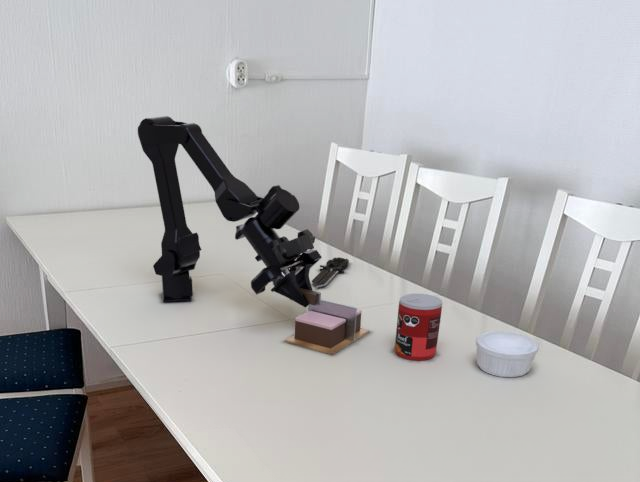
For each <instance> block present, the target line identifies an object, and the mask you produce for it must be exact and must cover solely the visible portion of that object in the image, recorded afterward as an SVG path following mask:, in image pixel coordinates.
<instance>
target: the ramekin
mask: <svg viewBox="0 0 640 482" xmlns="http://www.w3.org/2000/svg"><path fill="white" fill-rule="evenodd" d="M475 346H476V364H477V365H478V367H479V368H480V370H482V371H483V372H484V373H487V374H489V375H492V376H495V377H496V376H497V377H501V378H517V377H522V376H524V375H526V374H527V373H528V372H529V371H530V370H531V368H532V366H533V363H534V360H535V357H536V355H537V353H538V352H539V343H538V342H537V341H536V340H535V339H534V338H532V337H531V336H528V335H526V334H522V333H519V332H515V331H507V330H492V331H491V330H490V331H486V332H483V333H480V334H479V335H478V336H477V337H476V339H475Z"/></svg>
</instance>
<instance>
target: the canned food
mask: <svg viewBox="0 0 640 482" xmlns="http://www.w3.org/2000/svg"><path fill="white" fill-rule="evenodd" d="M442 311H443V300H442V299H441V298H440V297H438V296H435V295H433V294H429V293H407V294H404V295H401V296H400V297H399V302H398V309H397V320H396V328H395V329H396V331H395V338H394V339H395V341H394V351H395V354H396V355H397V356H399V358H402V359H405V360H408V361H427V360H430V359H433V358H434V357H435V355H436V353H437V348H438V342H439V341H438V339H439V332H440V326H441V319H442Z"/></svg>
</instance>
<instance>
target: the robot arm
mask: <svg viewBox="0 0 640 482" xmlns="http://www.w3.org/2000/svg"><path fill="white" fill-rule="evenodd" d="M137 136H138V139H139V144H140V146H141V149H142V152H143V153H144V154H145V156H146V157H147V158H148V160H149V161H150V162H151V164H152V169H153V174H154V180H155V184H156V188H157V189H156V190H157V195H158V200H159V205H160V211H161V215H162V216H161V217H162V221H163V226H164V232H163V235H162V240H161V243H160V245H161V246H160V247H161V255H160V257H159V258H158V260H156V261H155V263H154V264H153V266H152V267H153V270H154V273H155V275H156V276H161V287H162V291H161V296H162V302H163V303H177V302H191V301H192V297H193V295H194V294H193V293H194V291H193V277H192V276H191V275H190V271H193V270H195V269H196V265H197V262H198V261H199V259H200V258H201V252H200V251H202V247H201V245H200V237H199V233H198V232H192V231H191V229H190V228H189V227H188V224H187V220H186V214H185V213H186V212H185V209H184V202H183V196H182V192H181V187H180V179H179V175H178V170H177V169H178V168H177V163H176V156H177V153H178V149H179V145H181V146H182V148H183V149H184V151H185V152H186V154H187V155H188V157H190V159H191V160H192V162H193V163H194V165H195V166H196V167H197V169H198V170H199V172H200V173H201V174H202V176H203V178H204V179H205V180H206V181H207V183H208V184H209V185H210V187H211V188H212V190H213V192H214V200H215V203H216V206H217V208H218V209H219V211H220V213H221V215H222V217H223V218H224V219H225V220H226V221H228V222H232V223H235V222H238V221H242V220H245V219H247V220H245V222H244V223H241V224H239V225H236V226H235V235H234V239H235V240H241V239H244V238H245V239H246V241H247V242H248V244H249V245H250V246H251V247H252V249H253V250H254V251H255V253H256V254H257V255H256V256H255V257H254V259H255V260H256V262H260V261H261V262H262V263H263V264H264V265H265V267H263V268H262V269H261V270H260V271H259V273H258V274H256V275H255V277H253V278H252V279H251V280H250V288H251V289H252V291H253V292H254V294H255V295H256V296H257V295H260V294H261V293H263V292H265V291H266V287H267V286H268V284H269V283H271V282H272V285H273V287H272V288H271V289H270V292H271V293H273V292H274V293H276V294H279V295H281V296H283V297H285V298H287V299H289V300H290V299H291V300H290V301H293V302H294V303H297V305H300V306H302V307H304V308H307V307H309V303H308V301H307V299H306V297H305V295H304V294H303V292H302V291H301V289H300V288H303V289H307V290H312V291H314V289H313V287H312V284H311V283H312V282H311V280H310V279H311V278H310V271H311V269H312V268H313V267H314V266H315V265H316V264H317V263H318V262H319V261H320V260H321V259H322V258H323V257H322V255H321V253H319V251H318V249H315V246H314V244H315V242H316V236H315V235H314V234H313V233H312V232H311V231H310V230H309V229H308V228H307V229H304V230H301V231H299V232H297V237H296V238H292V239H291V240H289V238H288V237H287V236H284V235H283V236H281V237H280V235H279V234H278V233H277V230H281V229H282V228H284V226H285V225H286V224H287V223H288V222H289V221H290V220H291V219H292V218H293V217H294V216H295V215H296V214H297V213H298V212H299V210H300V202H299V200H298V199H297V197H296V196H295V195H294V194H292V193H291V192H289V191H288V190H287V189H284V188H282V187H281V185H280V184H276V185H273V186H271V188H270V189H269V190H268V191H267V193H266V194H265V196H264V197H262V196H260V195H257V194H256V192H254V191H253V190H252V189H251V188H250V186H248V185H247V183H246V182H244V181H242V180H240V179H238V178H237V177H235V176H234V174H232V172H231V171H230V170H229V168H228V167H227V165H226V164H225V163H224V161H223V160H222V158H221V157H220V155H219V154H218V153H217V152H216V150H215V148H213V146H212V144H211V143H210V141H208V138H207V137H206V136H205V135H204V133H203V129H202V128H201V126H200V125H199V124H197V123H195V122H186V121H180V120H179V121H177V120H174V119H173V118H172V117H171V116H168V115H162V116H154V117H145V118H143V119H142V120H141V121H140V122H139V125H138V126H137ZM254 215H255V216H254Z"/></svg>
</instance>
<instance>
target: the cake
mask: <svg viewBox="0 0 640 482" xmlns="http://www.w3.org/2000/svg"><path fill="white" fill-rule="evenodd" d="M362 311H363V310H362V309H359V308H357V315H356V328H355V333H357V332H359V331H360V328H361V326H362V325H361V324H362ZM345 325H346V319H343V318H338V317H334V316H330V315H326V314H322V313H318V312H314V311H306V312H304V313H303V314H300V315H298V316H296V317H295V320H294V335H295V339H297V340H301V341H304V342H308V343H312V344H315V345H319V346H323V347H327V348H330V349H331V348H332V347H334V346H336V345H337V344H339V343H341V342H342V341H344V340H345Z"/></svg>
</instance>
